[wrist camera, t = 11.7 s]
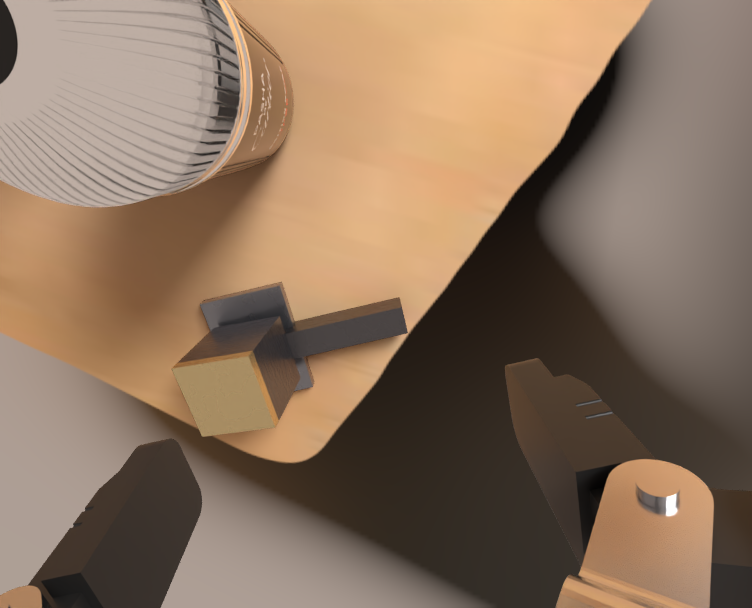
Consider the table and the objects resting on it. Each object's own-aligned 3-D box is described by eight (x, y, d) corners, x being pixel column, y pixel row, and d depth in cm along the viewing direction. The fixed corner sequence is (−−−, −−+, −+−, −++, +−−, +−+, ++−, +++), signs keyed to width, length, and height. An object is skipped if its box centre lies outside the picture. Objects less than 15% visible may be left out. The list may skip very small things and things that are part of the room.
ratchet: (203, 300, 39) (177, 328, 33) (389, 256, 38) (394, 277, 33) (242, 397, 43) (224, 437, 37) (413, 358, 42) (421, 393, 36)
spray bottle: (156, 157, 35) (-260, 204, 12) (160, 4, 31) (-427, -373, 8) (289, 182, 36) (154, 273, 12) (307, 37, 32) (166, -216, 9)
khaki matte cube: (214, 327, 38) (171, 368, 32) (279, 316, 37) (248, 356, 31) (238, 387, 40) (202, 436, 34) (300, 378, 39) (275, 427, 33)
